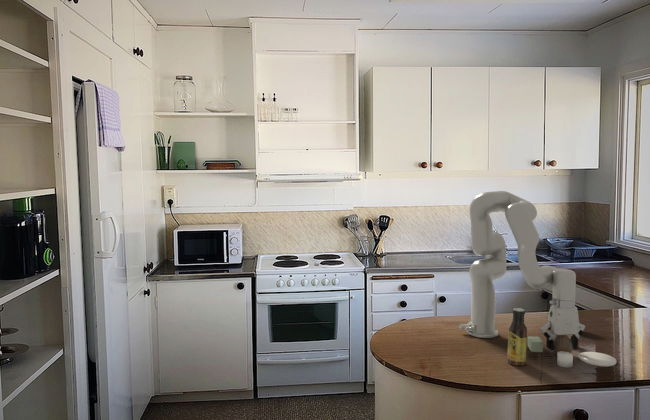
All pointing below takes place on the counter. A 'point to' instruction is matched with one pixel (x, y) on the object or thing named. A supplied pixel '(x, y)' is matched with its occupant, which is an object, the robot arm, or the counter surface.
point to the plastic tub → (565, 359)
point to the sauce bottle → (517, 338)
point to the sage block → (535, 344)
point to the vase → (562, 344)
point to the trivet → (597, 359)
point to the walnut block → (570, 339)
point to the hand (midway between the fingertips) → (562, 348)
